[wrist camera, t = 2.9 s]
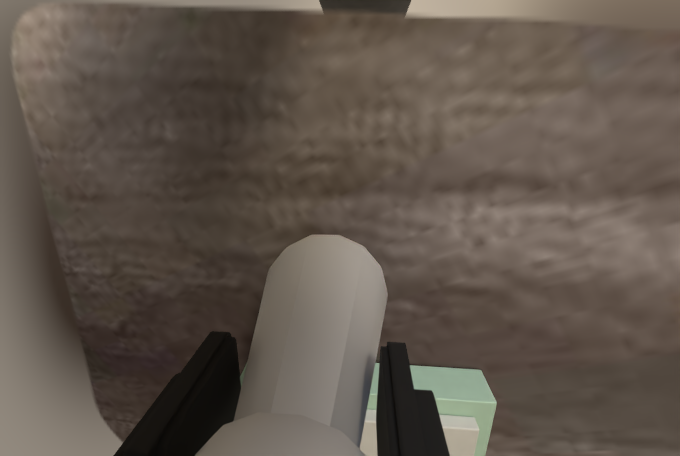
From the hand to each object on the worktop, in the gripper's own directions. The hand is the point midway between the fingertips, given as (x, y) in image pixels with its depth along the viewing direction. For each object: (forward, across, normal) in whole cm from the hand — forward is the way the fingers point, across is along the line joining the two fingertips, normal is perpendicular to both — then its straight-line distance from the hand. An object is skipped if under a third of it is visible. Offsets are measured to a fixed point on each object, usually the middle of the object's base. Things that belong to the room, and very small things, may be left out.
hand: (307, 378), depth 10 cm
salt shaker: (+8, 0, 0) cm, 8 cm away
